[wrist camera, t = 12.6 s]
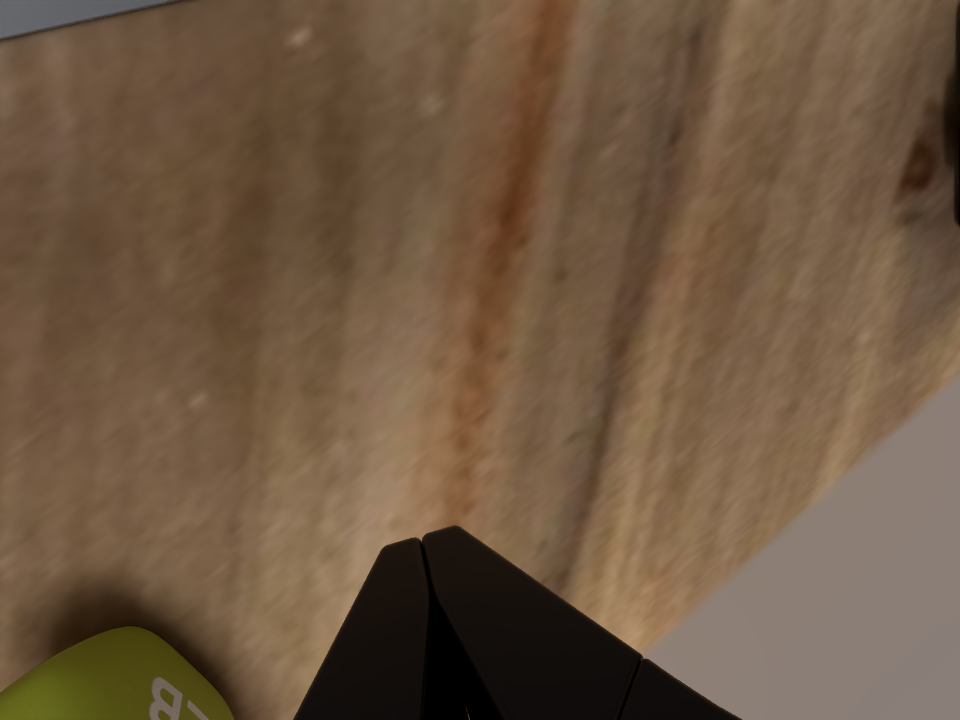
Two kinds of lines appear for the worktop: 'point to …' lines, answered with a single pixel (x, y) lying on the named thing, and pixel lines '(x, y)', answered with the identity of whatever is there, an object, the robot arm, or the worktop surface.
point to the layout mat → (60, 13)
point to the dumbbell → (114, 683)
